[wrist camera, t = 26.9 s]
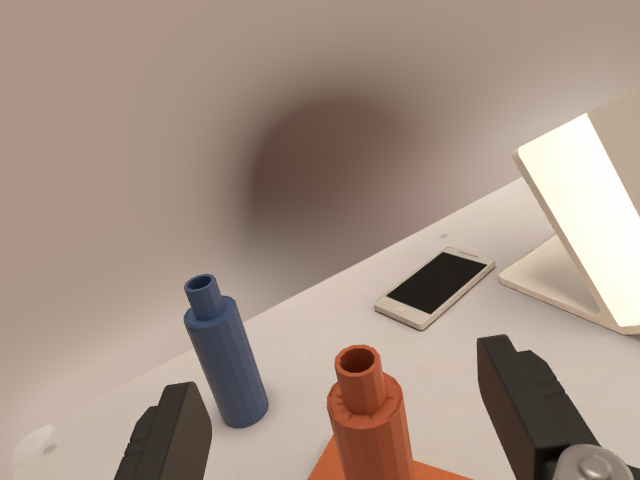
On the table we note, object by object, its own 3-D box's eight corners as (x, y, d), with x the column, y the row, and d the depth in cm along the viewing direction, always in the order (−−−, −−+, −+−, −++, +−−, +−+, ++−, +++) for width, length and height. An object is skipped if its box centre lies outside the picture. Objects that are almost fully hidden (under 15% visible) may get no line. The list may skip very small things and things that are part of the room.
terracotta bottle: (374, 562, 32) (336, 402, 25) (346, 504, 36) (306, 352, 29) (433, 530, 33) (412, 368, 26) (400, 477, 37) (374, 324, 30)
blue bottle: (250, 433, 44) (201, 302, 37) (213, 420, 46) (160, 294, 39) (277, 397, 47) (237, 270, 40) (241, 386, 50) (197, 265, 43)
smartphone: (373, 309, 57) (372, 303, 56) (448, 251, 65) (447, 245, 64) (422, 331, 52) (421, 324, 51) (496, 265, 60) (496, 259, 59)
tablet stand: (495, 281, 57) (492, 146, 49) (606, 204, 68) (618, 83, 60) (665, 352, 43) (698, 177, 35) (771, 240, 54) (814, 89, 46)
